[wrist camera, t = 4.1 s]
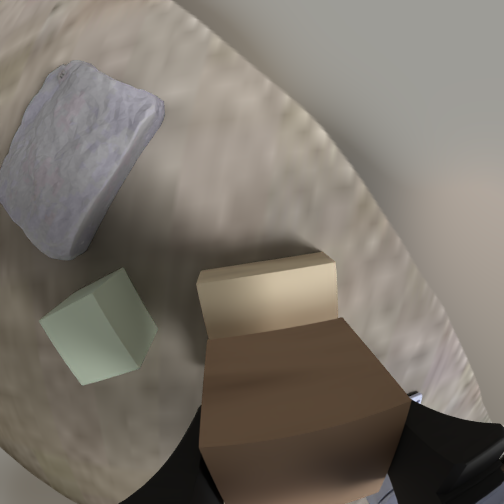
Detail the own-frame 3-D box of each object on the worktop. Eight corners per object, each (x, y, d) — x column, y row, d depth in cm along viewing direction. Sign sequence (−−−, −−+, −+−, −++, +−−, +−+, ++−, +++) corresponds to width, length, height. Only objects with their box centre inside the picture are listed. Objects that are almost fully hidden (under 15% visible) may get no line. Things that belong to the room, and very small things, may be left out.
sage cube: (158, 328, 19) (139, 368, 15) (107, 348, 20) (82, 385, 15) (123, 266, 18) (92, 293, 13) (73, 292, 18) (38, 320, 14)
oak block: (326, 350, 21) (338, 372, 18) (223, 368, 21) (222, 392, 18) (320, 250, 19) (335, 262, 16) (201, 268, 19) (196, 284, 16)
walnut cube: (338, 410, 14) (378, 492, 8) (229, 430, 13) (235, 523, 8) (342, 317, 12) (411, 399, 7) (207, 339, 12) (198, 447, 6)
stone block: (22, 195, 18) (92, 266, 18) (-19, 192, 13) (47, 277, 13) (94, 69, 17) (184, 115, 17) (61, 43, 12) (156, 83, 12)
